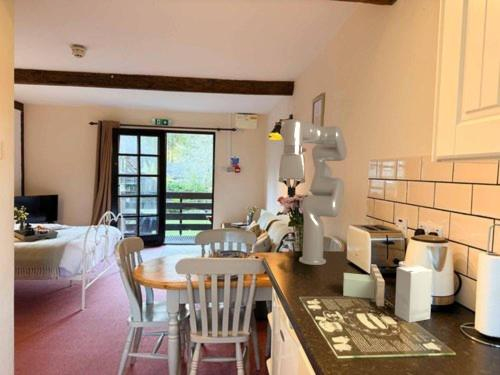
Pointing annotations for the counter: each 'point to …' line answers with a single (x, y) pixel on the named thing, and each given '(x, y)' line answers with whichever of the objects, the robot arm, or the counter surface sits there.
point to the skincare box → (413, 293)
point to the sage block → (358, 285)
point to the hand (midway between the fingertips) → (291, 197)
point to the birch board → (378, 285)
